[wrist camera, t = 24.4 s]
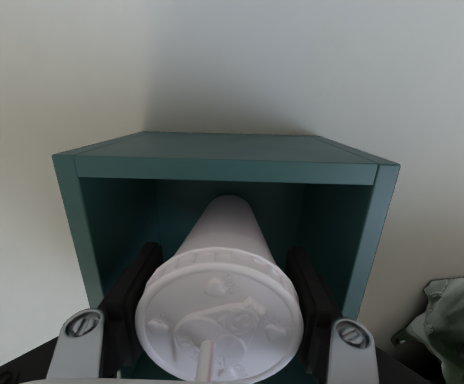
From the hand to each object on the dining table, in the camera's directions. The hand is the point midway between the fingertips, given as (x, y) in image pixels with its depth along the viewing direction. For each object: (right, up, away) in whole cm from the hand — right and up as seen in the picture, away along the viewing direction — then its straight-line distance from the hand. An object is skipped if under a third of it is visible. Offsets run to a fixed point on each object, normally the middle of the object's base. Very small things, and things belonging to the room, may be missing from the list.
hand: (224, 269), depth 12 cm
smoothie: (0, +2, +6) cm, 6 cm away
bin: (0, +1, +9) cm, 9 cm away
